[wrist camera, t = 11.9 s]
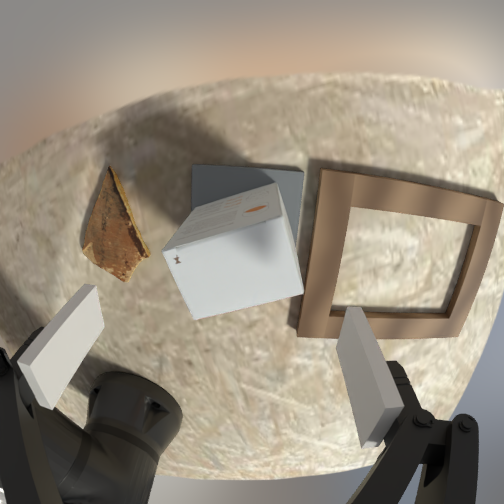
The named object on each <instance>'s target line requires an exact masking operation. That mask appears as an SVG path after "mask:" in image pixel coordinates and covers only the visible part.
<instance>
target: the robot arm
mask: <svg viewBox="0 0 504 504" xmlns="http://www.w3.org/2000/svg"><path fill="white" fill-rule="evenodd" d="M104 327H105V326H104V321H103V317H102V312H101V307H100V303H99V298H98V292H97V287H96V285H90V284H84V285H83V286H82V287H81V288H80V289H79V290H78V291H77V292H76V293H75V295H74V296H73V297H72V298H71V299H70V300H69V301H68V302H67V303H66V304H65V305H64V306H63V308H62V309H61V310H60V311H59V312H58V313H57V314H56V315H55V317H54V318H53V319H52V320H51V321H50V322H49V323H48V324H47V326H46V327H40V328H39V329H37V330H36V331H34V332H33V333H32V334H31V336H30V337H29V338H28V340H26V341H25V342H24V345H22V346H21V347H20V348H19V350H18V351H17V352H16V353H15V354H14V356H13V357H12V358H11V359H9V357H8V355H7V353H6V351H5V349H3V348H1V347H0V504H148V499H149V496H150V492H151V488H152V485H153V481H154V477H155V473H156V469H157V465H158V462H159V458H160V456H161V454H162V453H163V452H164V451H165V449H166V448H167V447H168V445H169V444H170V443H171V441H172V440H173V439H174V437H175V436H176V435H177V433H178V432H179V429H180V426H181V422H182V418H183V415H182V410H181V408H180V406H179V405H178V403H177V402H176V401H175V399H174V398H173V397H172V396H171V395H169V394H168V393H167V392H166V391H165V390H163V389H162V388H160V387H159V386H157V385H155V384H154V383H152V382H150V381H148V380H146V379H143V378H141V377H138V376H135V375H131V374H127V373H121V372H108V373H104V374H102V375H100V376H99V377H98V378H97V379H96V380H95V382H94V384H93V386H92V387H91V390H90V393H89V401H88V410H87V421H86V425H85V427H84V429H82V428H81V427H79V426H78V425H77V424H75V423H74V422H73V421H72V420H70V419H69V418H68V417H67V416H66V415H64V414H63V413H62V412H61V411H60V410H58V409H57V408H56V407H55V405H56V403H57V401H58V400H59V398H60V396H61V395H62V393H63V391H64V390H65V388H66V386H67V385H68V383H69V381H70V380H71V378H72V377H73V375H74V373H75V372H76V370H77V369H78V367H79V365H80V364H81V362H82V361H83V359H84V357H85V356H86V354H87V353H88V351H89V350H90V348H91V347H92V345H93V344H94V342H95V341H96V339H97V338H98V336H99V335H100V333H101V332H102V330H103V329H104ZM336 350H337V353H338V357H339V361H340V364H341V368H342V372H343V376H344V379H345V383H346V387H347V391H348V395H349V399H350V403H351V407H352V411H353V415H354V419H355V423H356V427H357V431H358V436H359V440H360V444H361V449H362V448H371V447H378V446H379V445H380V444H381V442H382V441H383V439H384V442H385V446H386V447H385V448H384V450H383V451H382V452H381V454H380V455H379V457H378V458H377V461H376V462H375V464H374V465H373V467H372V468H371V470H370V471H369V473H368V474H367V476H366V478H365V479H364V480H363V482H362V483H361V484H360V486H359V487H358V489H357V490H356V492H355V493H354V494H353V495H352V497H351V498H350V499H349V501H348V502H347V503H346V504H398V502H399V501H400V499H401V497H402V495H403V494H404V492H405V490H406V488H407V486H408V484H409V482H410V481H411V479H412V477H413V475H414V473H415V471H416V469H417V467H418V465H419V464H423V467H422V472H421V478H420V482H419V487H418V491H417V496H416V500H415V504H475V501H476V490H477V478H478V454H479V434H478V433H479V431H478V424H477V422H476V420H475V419H474V418H473V417H472V416H470V415H467V414H459V415H457V416H456V417H455V418H454V419H453V420H452V421H445V420H437V419H435V417H434V416H433V415H432V414H431V413H430V412H429V411H427V410H424V409H422V408H421V406H420V403H419V401H418V399H417V397H416V394H415V392H414V390H413V388H412V385H410V381H409V379H408V378H407V375H406V372H405V370H404V368H403V367H402V366H401V365H400V364H399V363H398V362H397V361H385V358H384V356H383V354H382V351H381V349H380V347H379V345H378V342H377V340H376V338H375V336H374V333H373V331H372V329H371V327H370V325H369V323H368V320H367V318H366V316H365V314H364V312H363V310H362V308H361V307H348V306H347V310H346V313H345V317H344V321H343V325H342V329H341V332H340V336H339V339H338V343H337V346H336Z"/></svg>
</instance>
